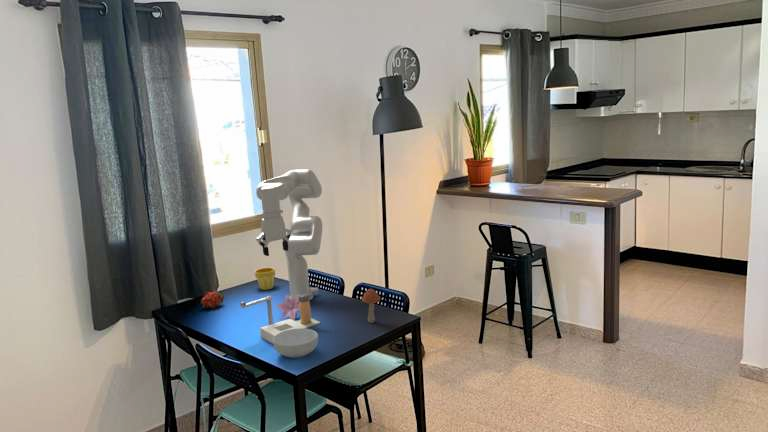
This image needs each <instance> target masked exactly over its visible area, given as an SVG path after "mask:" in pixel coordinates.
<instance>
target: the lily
mask: <svg viewBox="0 0 768 432" xmlns="http://www.w3.org/2000/svg"><path fill="white" fill-rule="evenodd" d="M289 296H290V295H288V294H286V295H285V301H284V302H280V303H279V304H277V305H276V306H275V307H276V308H277V309H278V310H281V311H283V312H282V315H281V319H282V320H283V319H285V318H287V317H289V319H292V320H294V321H296V313H297V312H298V311H300V310H299V302H298V296H299V294H297V295H295V296H294V297H293V298H292V299H291V298H290V297H289ZM297 302H298V303H297Z"/></svg>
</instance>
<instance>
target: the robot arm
mask: <svg viewBox="0 0 768 432" xmlns="http://www.w3.org/2000/svg"><path fill="white" fill-rule="evenodd" d="M322 190H323V189H322V185H321V181H320V180H319V179H318V177H317V175H316V174H315V172H314V171H313V170H311V169H308V168H307V169H291V170H289V171H287V172H285V173H284V174H283V175H280V176H275V177H273V178H269V179H265V180H263V181H261V182H260V183H259V184H258V186H257V188H256V192H255V193H256V197H257V198H258V199H259V201H261V206H262V215H263V218H262V219H261V222H260V224H261V225H260V228H261V229H260V232H261V233H260V235H258V236H257V237H256V238H255V240H256V241H257V244H258V245H260V246H261V247H262V253H263V255H264V256H265V257H269V256H270V252H269V246H268V245H269V243H272V242H276V241H279V240H282V244H281V245H282V250H283V251H284V253H285V257H286V263H287V272H288V282H289V283H288V285H289V293H290V294H289V295H288V296H289V297H290V298H291V299H292V298H293V297H294V296H295V295H297V294H299V295H302V294H308V295H309V301H311V300H313V299H314V294H313V293H315V292H318V291H319V287H310V280H309V272H308V271H309V269H308V263H307V260H306V258H305V257H304V256H315V255H318V254H319V252H320V249H321V244H322V236H323V235H322V234H323V221H322V219H321V217H320V216H317V215H310V213H311V212H310V207H309V206H308V204H307V203H306V202H305V201H304V200H303V199H318V198H319V197H321V196H322V192H323V191H322ZM287 198H288V199H289V201H290V205H291V208H292V209H291V218H290V223H289V228H288V229H287V228H286V225H285V220H284V217H283V215H282V214H283V213H284V210H282V209H281V204H280V201H283V200H286V199H287ZM297 304H299V300H298V302H297Z"/></svg>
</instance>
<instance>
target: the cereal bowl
mask: <svg viewBox="0 0 768 432" xmlns="http://www.w3.org/2000/svg"><path fill="white" fill-rule="evenodd" d="M318 343H319V334H318V332H317V331H316V330H314V329H310V328H307V329H304V328H298V329H290V330H286V331H283V332H280V333H278V334H277V335H275V336H274V338H273V348H274V350H275V351H276V352H277V353H278V354H280V355H282V356H284V357H287V358H291V359H293V358H294V359H298V358H302V357H304V356H306V355H308V354H310V353H312V352H313V351H314V350H315V349H316V347H317V345H318Z"/></svg>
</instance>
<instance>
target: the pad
mask: <svg viewBox="0 0 768 432" xmlns="http://www.w3.org/2000/svg"><path fill="white" fill-rule="evenodd" d="M295 321H296V322H298V323H300V324H301V320H300V319H299V320H295ZM320 324H321V321H319V320H316V319H314V318H312V317H311V323H309V324H302V325H304V326H306V327H307V329H309V328H310V327H311V328H312V327H313V326H316V325H320Z"/></svg>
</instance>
